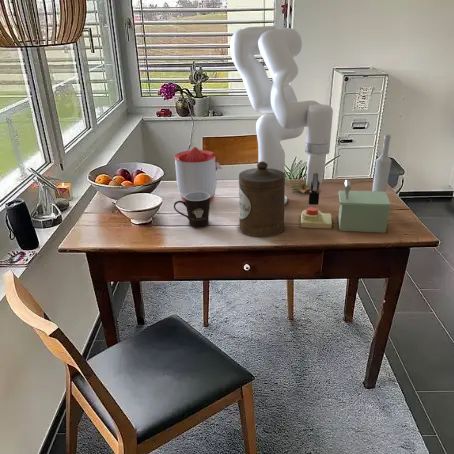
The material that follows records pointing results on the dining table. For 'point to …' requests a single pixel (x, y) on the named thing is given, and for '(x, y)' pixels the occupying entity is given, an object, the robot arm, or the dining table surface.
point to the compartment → (363, 218)
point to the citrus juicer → (196, 172)
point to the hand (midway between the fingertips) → (313, 203)
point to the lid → (362, 197)
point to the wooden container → (261, 201)
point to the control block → (316, 220)
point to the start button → (312, 211)
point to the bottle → (382, 167)
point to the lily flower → (301, 187)
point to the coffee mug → (196, 208)
